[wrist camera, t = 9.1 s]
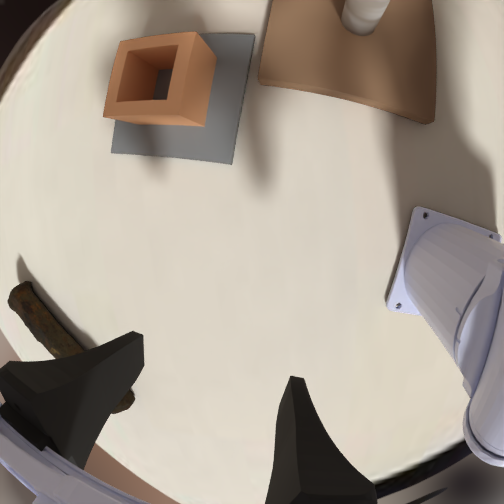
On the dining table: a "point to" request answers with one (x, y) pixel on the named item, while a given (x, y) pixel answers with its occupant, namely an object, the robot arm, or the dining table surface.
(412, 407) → the dining table surface
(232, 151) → the pad
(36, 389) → the robot arm
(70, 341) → the hand tool
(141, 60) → the hollow square tube
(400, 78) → the post block
